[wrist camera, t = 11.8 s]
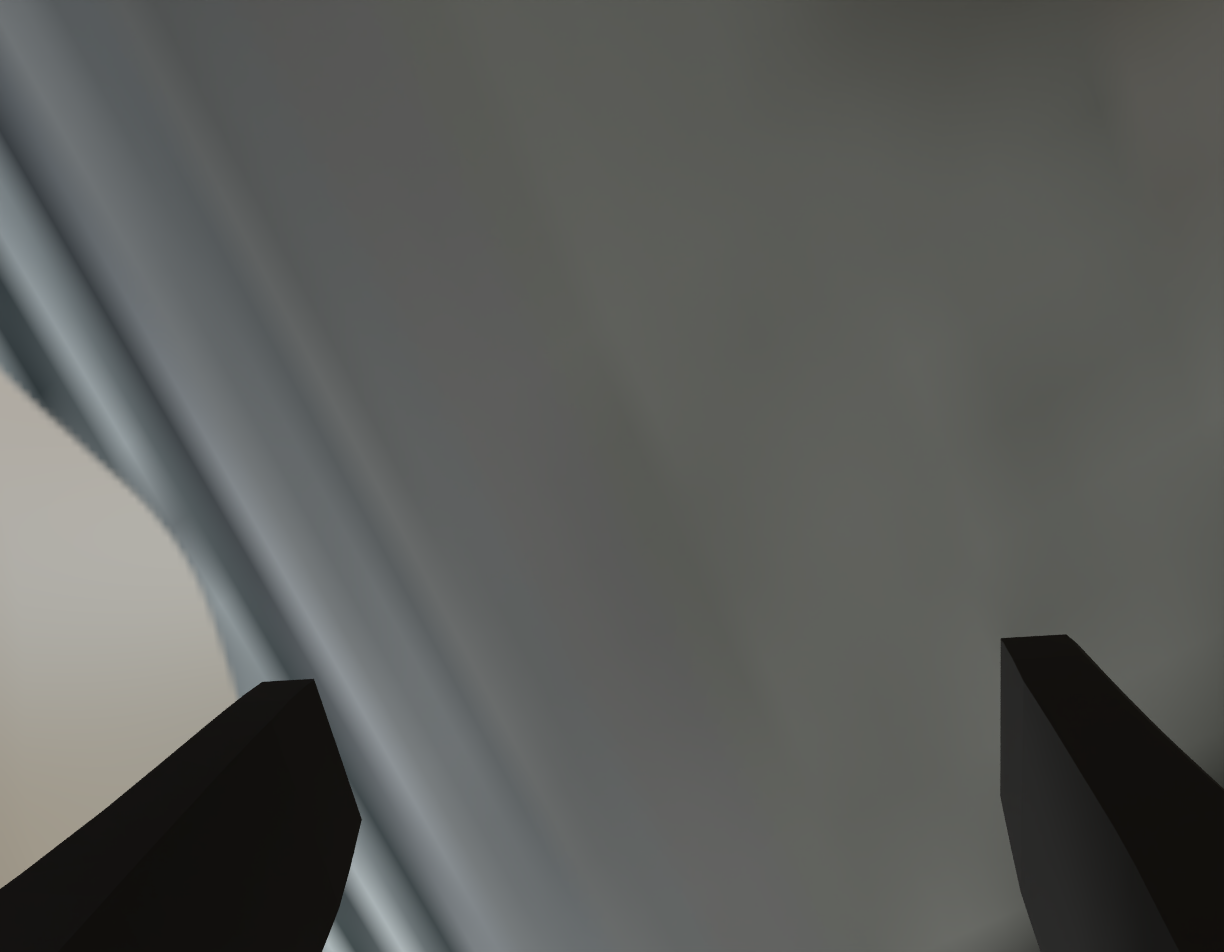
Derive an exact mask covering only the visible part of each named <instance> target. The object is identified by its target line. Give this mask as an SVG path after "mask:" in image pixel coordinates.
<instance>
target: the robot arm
mask: <svg viewBox="0 0 1224 952" xmlns="http://www.w3.org/2000/svg"><path fill="white" fill-rule="evenodd" d="M1000 796H1001V801H1002V806H1003V811H1004V816H1005V821H1006V825H1007V830H1008V835H1009V840H1010V845H1011V850H1012V854H1013V859H1014V863H1015V868H1016V872H1017V877H1018V881H1019V886H1020V891H1021V894H1022V897H1023V900H1024V903H1025V906H1026V909H1027V912H1028V915H1029V918H1030V921H1031V924H1032V927H1033V930H1034V933H1035V936H1036V939H1037V942H1038V945H1039V948H1040V951H1041V952H1224V789H1223V788H1222V787H1221V786H1220V785H1219V784H1218V783H1217V782H1216V781H1215V780H1213V779H1212V778H1211V777H1210V776H1209V775H1208V774H1207V773H1206V772H1205V771H1204V770H1203V769H1202V768H1201V767H1199V766H1198V765H1197V764H1196V763H1195V762H1194V761H1193V760H1192V759H1191V758H1190V757H1189V756H1188V755H1187V754H1185V753H1184V752H1183V751H1182V750H1181V749H1180V748H1179V747H1178V746H1177V745H1176V744H1175V743H1174V742H1173V741H1172V740H1170V739H1169V738H1168V737H1167V736H1166V735H1165V734H1164V733H1163V732H1162V731H1161V730H1160V729H1159V728H1158V727H1157V726H1156V725H1155V724H1154V723H1153V722H1152V721H1151V720H1150V719H1149V718H1148V717H1147V716H1146V715H1145V714H1144V713H1143V712H1142V711H1141V710H1140V709H1139V708H1138V707H1137V706H1136V705H1135V704H1134V703H1133V702H1132V701H1131V700H1130V699H1129V698H1128V697H1127V696H1126V695H1125V694H1124V693H1123V692H1122V691H1121V690H1120V689H1119V687H1118V686H1117V685H1116V684H1115V683H1114V682H1113V681H1112V680H1111V679H1110V678H1109V677H1108V676H1107V675H1106V674H1105V673H1104V672H1103V671H1102V670H1101V669H1100V668H1099V666H1098V665H1097V664H1096V663H1095V662H1094V661H1093V660H1092V659H1091V658H1090V657H1089V656H1088V655H1087V654H1086V653H1085V651H1084V650H1083V649H1082V648H1081V647H1080V646H1079V645H1078V644H1077V643H1076V642H1075V641H1073V640H1072V639H1071V638H1070V637H1069V636H1067V635H1066V634H1065V635H1048V636H1031V637H1014V638H1001V773H1000ZM361 820H362V819H361V816H360V813H359V810H358V807H357V804H356V801H355V798H354V795H353V792H352V789H351V787H350V784H349V781H348V778H347V775H346V772H345V769H344V766H343V763H342V760H341V757H340V754H339V751H338V748H337V745H336V742H335V740H334V737H333V734H332V731H331V728H330V725H329V722H328V719H327V716H326V713H325V710H324V707H323V704H322V701H321V698H320V695H319V693H318V690H317V687H316V684H315V681H314V679H304V680H287V681H270V682H262V683H260V684H259V685H257V686H256V687H255V688H253V689H252V690H250V691H249V692H248V693H246V694H245V695H244V696H242V697H241V698H240V699H238V700H237V701H236V702H235V703H233V704H232V705H231V706H230V707H228V708H227V709H226V710H225V711H223V712H222V713H221V714H220V715H218V716H217V717H216V718H215V719H213V721H211V722H210V723H209V724H207V725H206V726H205V727H204V728H203V729H201V730H200V731H199V732H198V733H197V734H195V735H194V736H193V737H192V738H190V739H189V740H188V741H187V742H186V743H185V744H183V745H182V746H181V747H180V748H178V749H177V750H176V751H175V752H174V753H172V754H171V755H170V756H169V757H168V758H166V759H165V760H164V761H163V762H162V763H160V764H159V765H158V766H157V767H156V768H154V769H153V770H152V771H151V772H150V773H148V774H147V775H146V776H145V777H143V778H142V779H141V780H140V781H139V782H138V783H136V784H135V785H134V786H133V787H131V788H130V789H129V790H128V791H127V792H125V793H124V794H123V795H122V796H120V797H119V798H118V799H117V800H116V801H114V802H113V803H112V804H111V805H110V806H108V807H107V808H106V809H105V810H104V811H102V812H101V813H99V814H98V815H97V816H96V817H94V818H93V819H92V820H90V821H89V822H88V823H86V824H85V825H84V826H83V827H81V828H80V829H79V830H77V831H76V832H75V833H74V834H72V835H71V836H70V837H68V838H67V839H66V840H64V841H63V842H62V843H60V844H59V845H58V846H57V847H55V848H54V849H53V850H51V851H50V852H49V853H47V854H46V855H45V856H44V857H42V858H41V859H40V860H38V861H37V862H36V863H35V864H33V865H32V866H31V867H29V868H28V869H27V870H25V871H24V872H23V873H22V874H20V875H19V876H17V877H16V878H15V879H13V880H12V881H11V882H9V883H8V884H7V885H5V886H4V887H2V888H1V889H0V952H322V950H323V948H324V945H325V943H326V940H327V938H328V935H329V933H330V930H331V928H332V925H333V922H334V920H335V917H336V914H337V912H338V909H339V906H340V903H341V899H342V896H343V892H344V888H345V885H346V881H347V877H348V874H349V870H350V866H351V862H352V858H353V854H354V850H355V845H356V841H357V837H358V833H359V829H360V824H361Z"/></svg>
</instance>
